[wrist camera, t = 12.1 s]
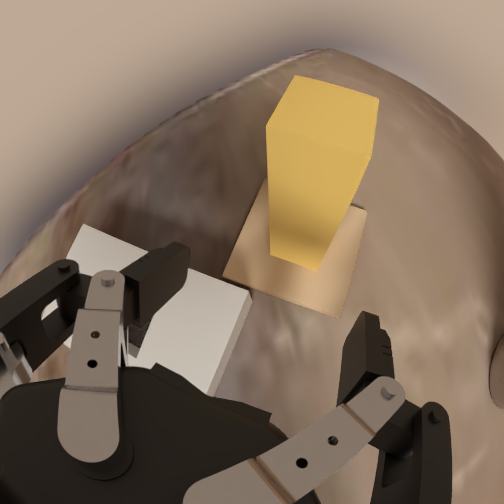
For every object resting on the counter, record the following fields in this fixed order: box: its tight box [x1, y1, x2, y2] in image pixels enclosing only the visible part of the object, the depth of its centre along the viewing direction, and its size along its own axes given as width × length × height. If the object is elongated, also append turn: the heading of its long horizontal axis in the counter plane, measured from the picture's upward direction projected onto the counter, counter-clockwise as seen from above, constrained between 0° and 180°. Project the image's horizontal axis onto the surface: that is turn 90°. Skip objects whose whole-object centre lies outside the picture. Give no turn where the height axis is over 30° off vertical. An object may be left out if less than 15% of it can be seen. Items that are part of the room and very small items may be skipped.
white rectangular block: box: [42, 224, 253, 397], centre depth 20 cm, size 16×10×4 cm, turn 69°
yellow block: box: [266, 75, 379, 271], centre depth 16 cm, size 4×4×14 cm
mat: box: [222, 178, 367, 318], centre depth 23 cm, size 10×10×1 cm
